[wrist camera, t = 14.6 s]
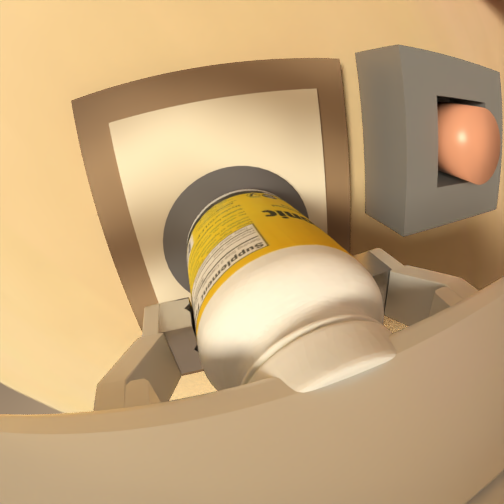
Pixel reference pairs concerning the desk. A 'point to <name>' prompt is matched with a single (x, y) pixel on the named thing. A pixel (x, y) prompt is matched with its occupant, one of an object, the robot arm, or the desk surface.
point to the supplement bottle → (279, 297)
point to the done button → (467, 142)
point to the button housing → (419, 136)
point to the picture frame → (210, 158)
